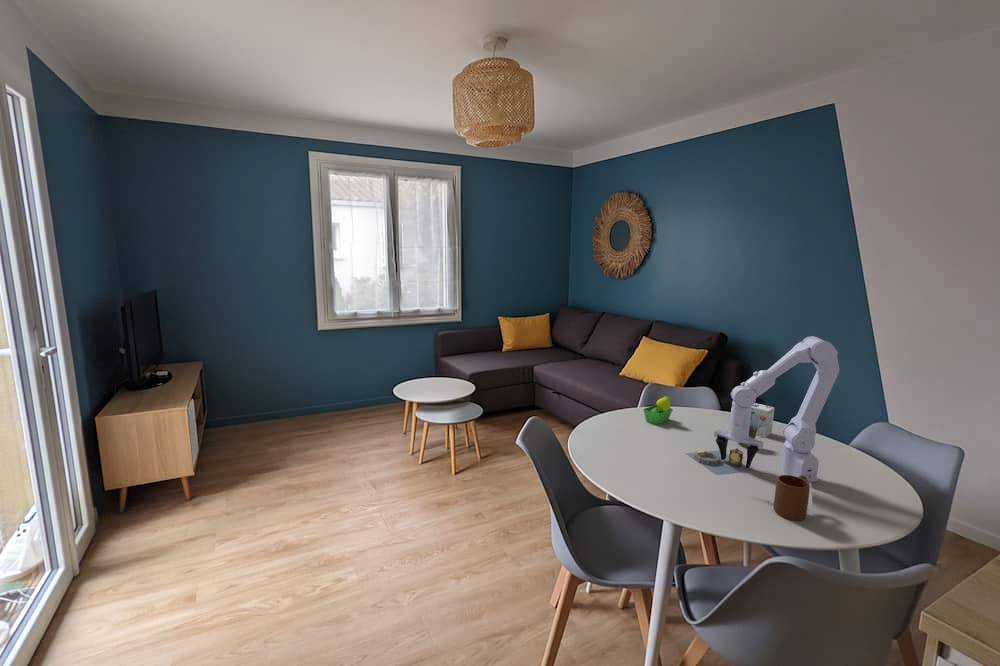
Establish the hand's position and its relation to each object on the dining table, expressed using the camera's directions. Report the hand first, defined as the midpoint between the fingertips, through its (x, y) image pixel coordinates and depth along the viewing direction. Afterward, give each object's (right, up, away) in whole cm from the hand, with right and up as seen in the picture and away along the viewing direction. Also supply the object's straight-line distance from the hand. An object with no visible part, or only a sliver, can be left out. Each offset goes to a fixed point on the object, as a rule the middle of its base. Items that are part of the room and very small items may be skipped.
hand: (735, 462), depth 154 cm
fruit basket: (-11, +6, +42) cm, 44 cm away
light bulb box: (+23, +3, +32) cm, 40 cm away
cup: (+11, +1, +17) cm, 21 cm away
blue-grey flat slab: (-5, -1, +2) cm, 5 cm away
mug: (+3, -6, -25) cm, 26 cm away
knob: (0, -1, 0) cm, 1 cm away
